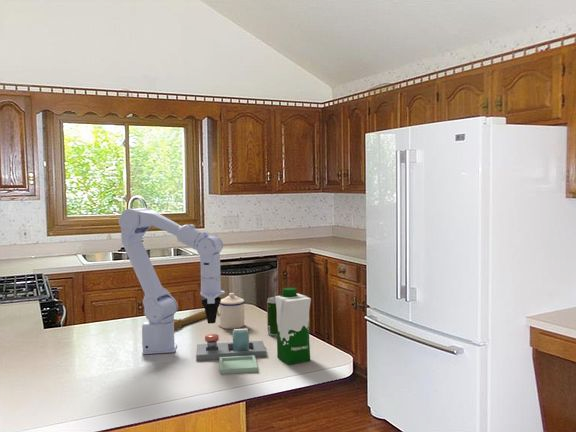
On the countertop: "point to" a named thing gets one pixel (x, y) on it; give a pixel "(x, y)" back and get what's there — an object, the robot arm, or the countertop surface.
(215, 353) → the housing
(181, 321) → the tap handle
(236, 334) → the rotary knob
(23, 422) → the countertop surface
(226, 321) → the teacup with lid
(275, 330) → the beer can
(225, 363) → the tray
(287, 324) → the milk carton
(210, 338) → the plunger
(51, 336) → the countertop surface
